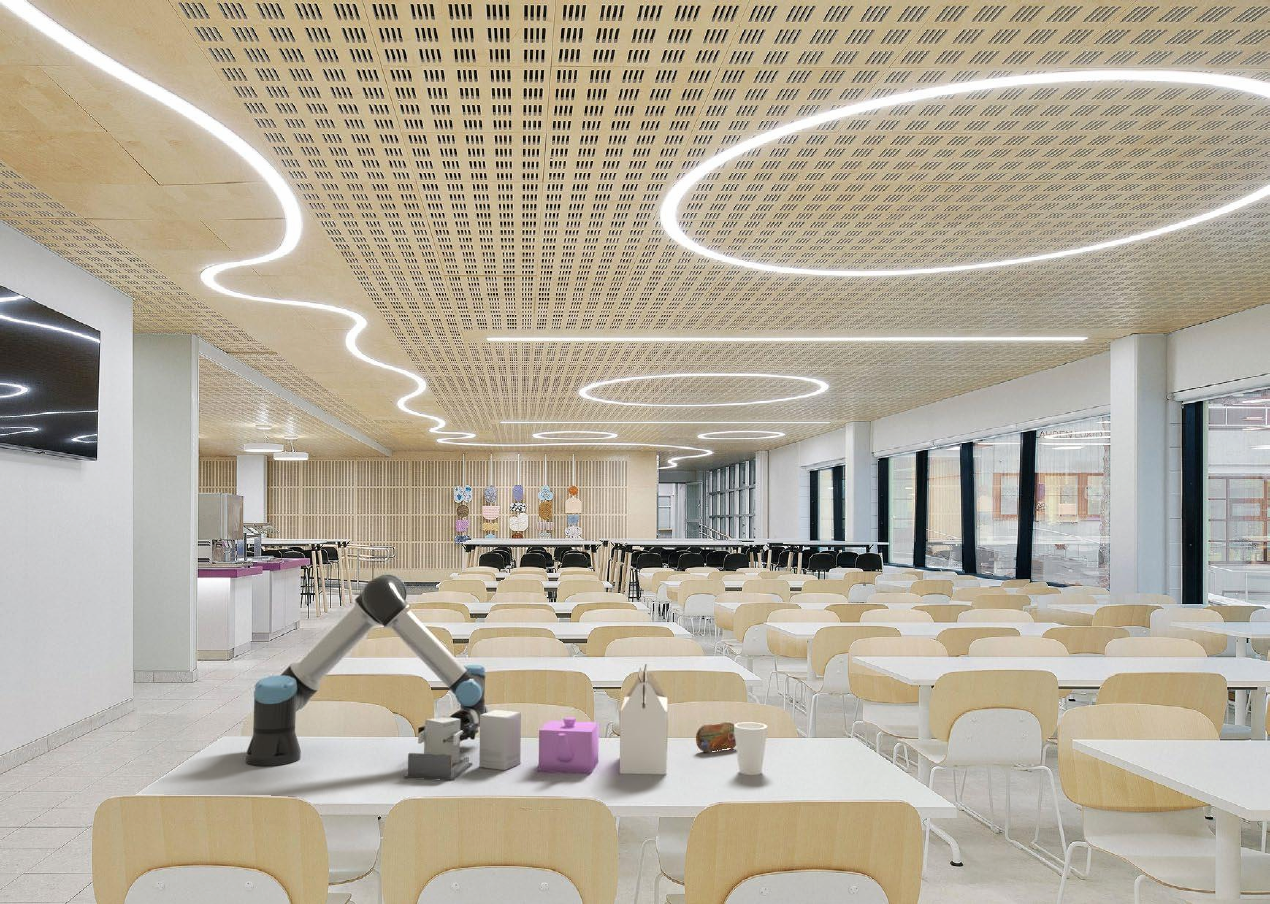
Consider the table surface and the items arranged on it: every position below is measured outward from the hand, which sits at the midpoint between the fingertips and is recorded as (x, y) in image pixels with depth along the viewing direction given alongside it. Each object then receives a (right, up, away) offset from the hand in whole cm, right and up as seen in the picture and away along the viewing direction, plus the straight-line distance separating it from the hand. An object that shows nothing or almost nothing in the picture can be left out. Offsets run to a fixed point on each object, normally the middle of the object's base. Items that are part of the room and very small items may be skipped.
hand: (437, 739), depth 274 cm
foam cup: (+89, -11, +4) cm, 89 cm away
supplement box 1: (+1, -8, +4) cm, 9 cm away
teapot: (+36, -11, +7) cm, 39 cm away
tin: (+81, -12, +30) cm, 87 cm away
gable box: (+58, -11, +12) cm, 61 cm away
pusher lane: (0, -9, +2) cm, 10 cm away
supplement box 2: (+16, -10, +9) cm, 21 cm away
